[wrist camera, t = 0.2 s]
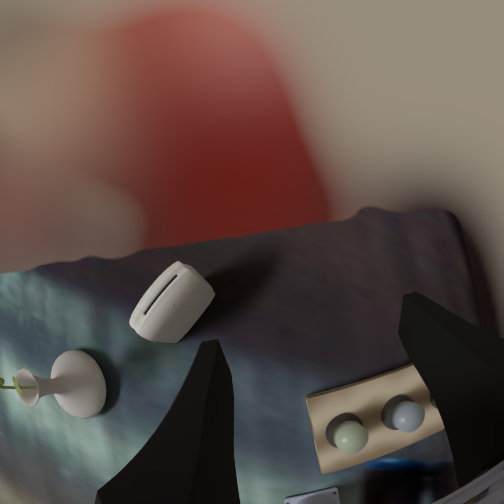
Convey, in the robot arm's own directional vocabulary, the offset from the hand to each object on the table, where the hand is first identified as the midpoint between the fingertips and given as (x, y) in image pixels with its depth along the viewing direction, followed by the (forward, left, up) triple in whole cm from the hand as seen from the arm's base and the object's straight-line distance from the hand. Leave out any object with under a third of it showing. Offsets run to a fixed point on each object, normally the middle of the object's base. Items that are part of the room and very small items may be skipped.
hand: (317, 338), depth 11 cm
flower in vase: (-1, +34, -31) cm, 46 cm away
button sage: (-14, -5, -26) cm, 30 cm away
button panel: (-14, -13, -31) cm, 36 cm away
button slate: (-14, -13, -26) cm, 32 cm away
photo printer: (+7, +13, -31) cm, 34 cm away
